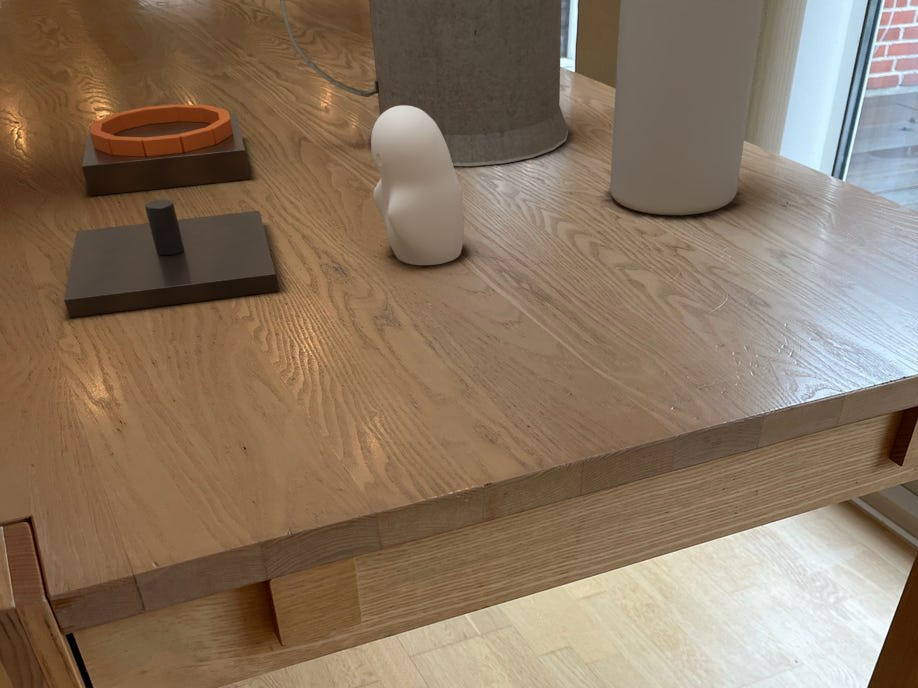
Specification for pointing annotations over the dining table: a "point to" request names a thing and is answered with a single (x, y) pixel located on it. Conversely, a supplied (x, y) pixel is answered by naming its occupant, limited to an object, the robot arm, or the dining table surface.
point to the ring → (161, 145)
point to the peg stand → (168, 262)
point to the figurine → (417, 187)
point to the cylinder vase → (682, 102)
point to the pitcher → (470, 72)
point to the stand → (165, 162)
